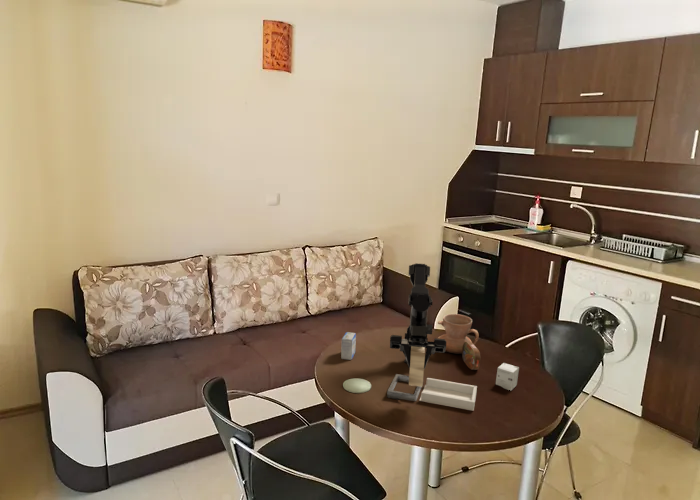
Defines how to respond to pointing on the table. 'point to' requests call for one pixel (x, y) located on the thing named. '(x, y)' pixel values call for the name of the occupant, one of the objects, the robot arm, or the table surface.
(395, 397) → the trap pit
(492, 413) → the table surface
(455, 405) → the cream rectangular tray
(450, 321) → the ceramic jug
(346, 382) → the pad
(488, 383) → the table surface
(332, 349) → the table surface
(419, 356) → the maple block
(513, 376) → the skincare box
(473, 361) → the tin
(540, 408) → the table surface
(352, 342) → the medicine box
